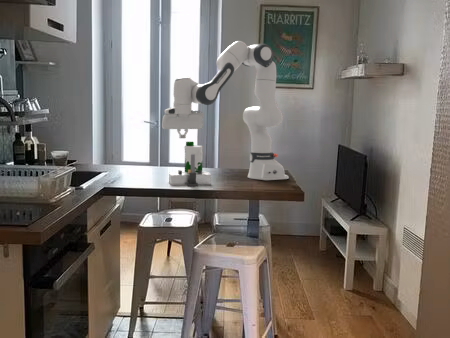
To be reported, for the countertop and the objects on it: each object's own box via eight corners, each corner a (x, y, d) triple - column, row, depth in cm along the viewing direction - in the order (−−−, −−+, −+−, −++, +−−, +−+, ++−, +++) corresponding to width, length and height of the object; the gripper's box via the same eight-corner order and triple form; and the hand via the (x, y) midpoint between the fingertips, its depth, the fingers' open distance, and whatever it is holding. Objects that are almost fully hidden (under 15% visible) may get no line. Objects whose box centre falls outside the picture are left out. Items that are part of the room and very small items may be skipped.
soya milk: (187, 178, 268) (187, 141, 266) (203, 178, 267) (204, 141, 264) (182, 180, 260) (183, 142, 257) (199, 181, 258) (200, 143, 255)
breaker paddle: (190, 172, 253) (190, 169, 253) (191, 173, 250) (191, 170, 250) (188, 172, 253) (188, 169, 252) (189, 173, 250) (189, 170, 250)
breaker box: (207, 181, 259) (207, 168, 258) (210, 184, 251) (211, 171, 250) (168, 182, 253) (169, 169, 252) (171, 185, 246) (171, 172, 245)
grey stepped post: (196, 184, 249) (196, 153, 246) (198, 186, 244) (199, 155, 241) (186, 185, 247) (186, 153, 245) (188, 186, 242) (188, 155, 240)
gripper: (201, 110, 252) (201, 137, 254) (161, 109, 246) (161, 137, 248) (204, 110, 245) (204, 138, 248) (163, 110, 240) (163, 139, 242)
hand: (182, 138), depth 248 cm, fingers closed
